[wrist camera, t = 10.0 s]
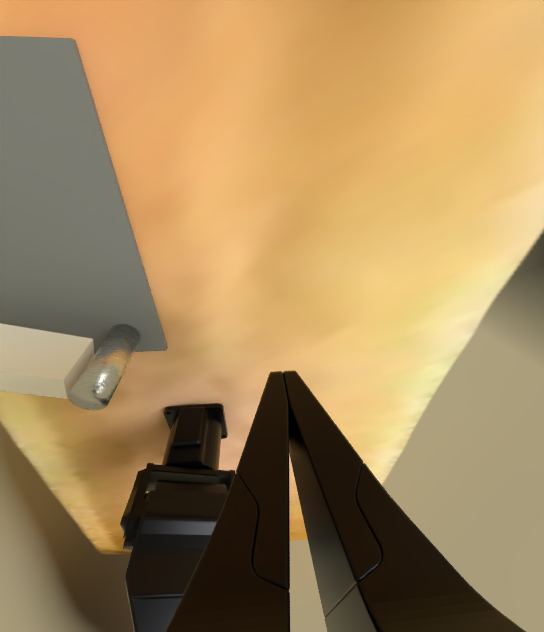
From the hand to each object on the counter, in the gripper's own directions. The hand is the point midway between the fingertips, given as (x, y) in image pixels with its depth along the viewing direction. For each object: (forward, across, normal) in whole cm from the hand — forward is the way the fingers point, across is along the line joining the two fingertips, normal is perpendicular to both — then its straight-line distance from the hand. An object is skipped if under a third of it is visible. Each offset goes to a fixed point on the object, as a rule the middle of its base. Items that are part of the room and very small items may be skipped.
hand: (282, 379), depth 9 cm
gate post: (+13, +12, +8) cm, 19 cm away
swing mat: (+13, +16, 0) cm, 21 cm away
